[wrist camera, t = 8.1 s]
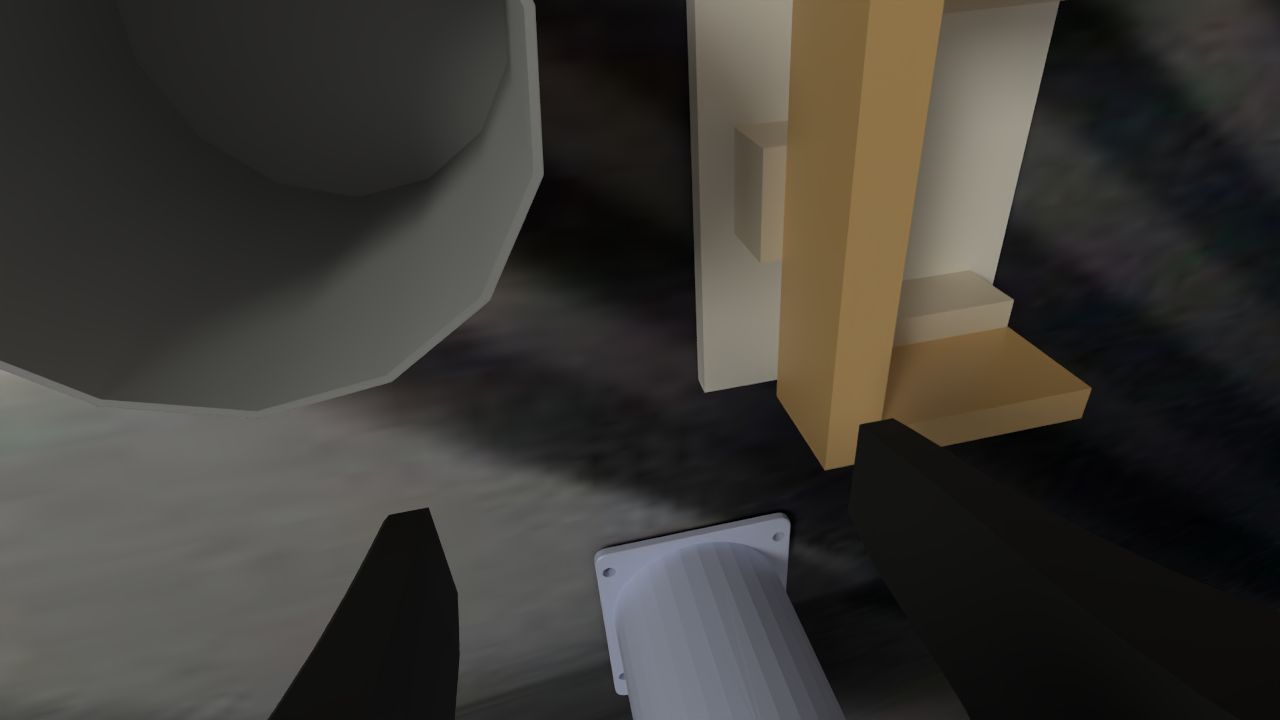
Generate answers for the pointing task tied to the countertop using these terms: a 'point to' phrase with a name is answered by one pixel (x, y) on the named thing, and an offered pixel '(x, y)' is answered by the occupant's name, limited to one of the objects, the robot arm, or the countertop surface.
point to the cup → (255, 191)
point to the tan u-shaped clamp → (879, 249)
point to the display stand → (945, 193)
